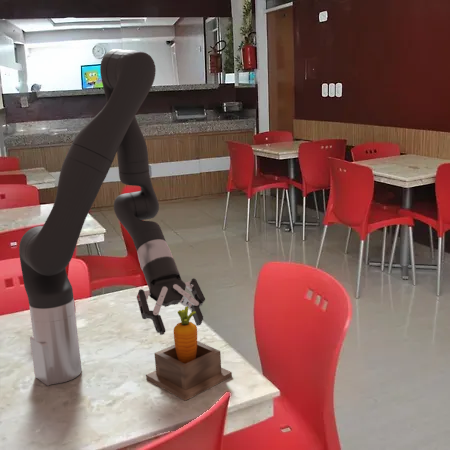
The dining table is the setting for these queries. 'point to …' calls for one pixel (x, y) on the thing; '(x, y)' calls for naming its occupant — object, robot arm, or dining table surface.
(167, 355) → the socket block
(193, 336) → the carrot
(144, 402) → the dining table surface
